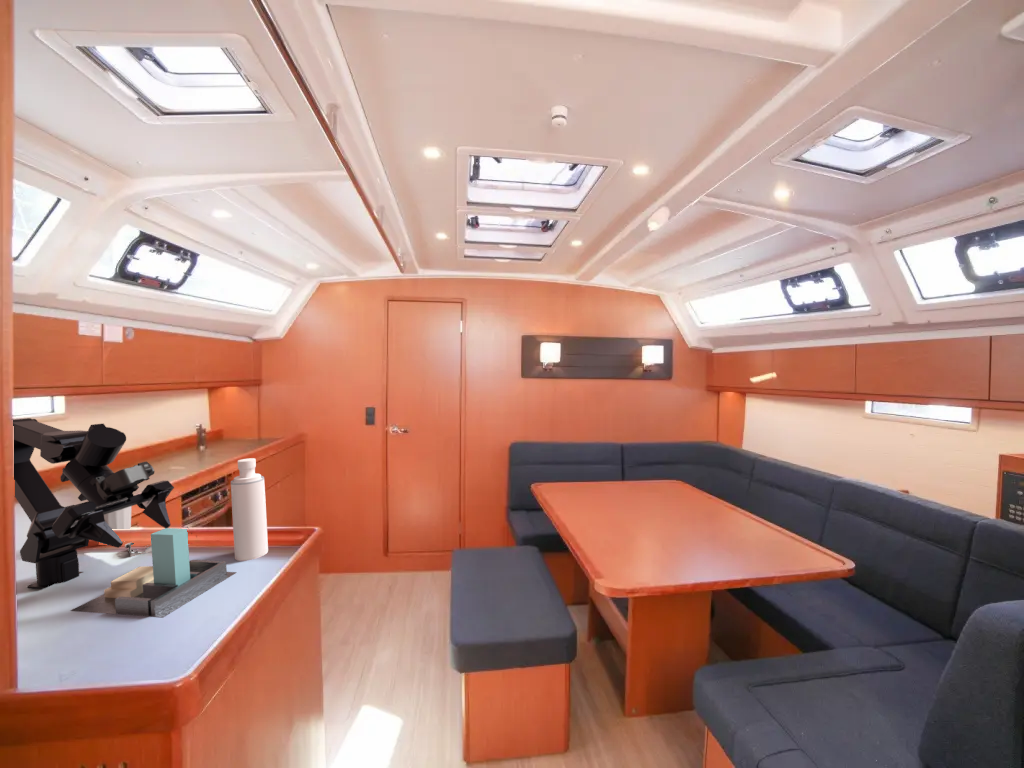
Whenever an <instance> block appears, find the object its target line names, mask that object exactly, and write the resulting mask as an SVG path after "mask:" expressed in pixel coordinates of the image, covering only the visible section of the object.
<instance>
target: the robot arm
mask: <svg viewBox="0 0 1024 768" xmlns="http://www.w3.org/2000/svg"><path fill="white" fill-rule="evenodd" d="M12 420H13V426H14V480H15V496H14V498H15V500H16V501H17V502H18V504H19V506H20V507H21V508H22V509H23V511H24V513H25V514H26V516H27V517H28V519H29V521H30V526H29V528H28V531H27V533H26V540H25V542H24V543H23V545H22V547H21V549H20V550H19V554H20V557H21V560H22V561H23V562H27V563H29V564H30V563H31V564H35V573H36V582H33V583H31V584H29V585H27V589H36V590H45V589H46V588H49V587H52V586H54V585H57V584H61V583H66V582H68V581H71V580H74V579H75V578H78V577H80V574H82V573H84V571H80V564H79V558H78V550H79V549H82V548H86V547H89V544H90V543H89V542H90V541H92V542H93V541H94V542H97V543H98V542H100V543H103V544H107V546H111V547H115V548H116V549H117V548H120V547H122V545H123V542H122V541H121V539H120V538H119V536H118V535H117V534H116V533H115V532H114V531H113V530H112V528H111V527H110V526H109V525H108V524H107V523H106V522H105V519H104V514H107V513H111V512H114V511H117V510H121V509H124V508H127V507H130V506H132V507H133V506H136V505H137V507H138V508H139V509H142V510H143V511H142V513H143V514H144V516H146V517H148V518H149V519H151V520H152V521H154V522H155V523H156V524H157V525H159V526H161V527H162V528H163V529H165V528H170V526H171V521H170V518H169V517H170V516H169V513H168V510H167V506H166V505H167V503H166V499H167V498H168V497H169V495H170V494H171V492H172V491H174V489H175V486H174V485H172V483H171V482H170V481H169V480H160V481H156V482H153V483H149V484H147V485H146V487H144V489H143V490H142V491H141V493H138V494H135V495H134V492H137V490H138V489H139V488H140V487H139V484H142V482H145V481H148V480H150V477H151V476H153V475H154V474H155V469H154V467H153V465H152V464H150V463H149V462H148V461H142V462H139V463H137V464H135V465H133V466H132V467H127V468H123V469H120V470H118V471H116V472H114V471H113V470H112V469H111V468H110V467H109V465H110V464H112V463H113V462H114V461H115V460H116V457H117V456H118V455H119V454H120V452H121V450H122V448H123V447H124V445H125V443H126V441H127V436H126V433H124V432H123V431H121V430H119V429H116V428H113V427H111V426H106V424H105V423H95V424H90V426H89V428H88V430H62V429H60V428H57V427H54V426H51V425H48V424H45V423H42V422H39V421H38V420H37V419H36V418H31V417H27V418H25V417H24V418H16V419H15V418H12ZM35 449H37V450H40V455H39V457H41V458H42V459H44V460H45V461H46V462H48V463H50V464H54V465H55V464H60V463H65V462H66V465H65V466H64V467H63V468H62V473H61V475H60V477H59V479H60V482H61V483H64V482H68V481H69V482H71V484H72V485H73V486H74V487H75V488H76V490H78V491H79V492H80V495H79V496H78V497H77V499H78V500H79V501H80V503H78V504H71V505H67V506H62V505H61V503H60V502H59V500H58V499H57V497H56V495H54V493H53V491H52V490H51V489H50V487H49V486H48V484H47V483H46V482H45V480H44V479H43V478H42V476H41V474H40V473H39V471H38V470H37V468H36V467H35V466H34V464H33V462H32V461H31V459H32V456H33V454H34V450H35Z"/></svg>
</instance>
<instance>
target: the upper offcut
mask: <svg viewBox="0 0 1024 768" xmlns="http://www.w3.org/2000/svg"><path fill="white" fill-rule="evenodd" d="M152 579H154V577H153V565H149V566H148V565H147V566H145V565H143V566H137V567H135V568H134V569H132V570H130V571H128V572H126V573H125V574H123V575H120V576H119V577H117V578H115V579H113V580H111V581H110V587H111V589H136V588H138V587H140V586H142V585H143V584H145V583H147V582H149V581H150V580H152Z"/></svg>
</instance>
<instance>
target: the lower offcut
mask: <svg viewBox="0 0 1024 768" xmlns="http://www.w3.org/2000/svg"><path fill="white" fill-rule="evenodd" d="M147 583H154V579H152V580H150V581H149V582H147ZM103 591H104V593H103V594H105V597H107V598H118V597H136V596H138V595H139V594H141V593H143V585H142V586H140V587H138V588H136V589H111V586H109V587H107V588H105V589H104V590H103Z"/></svg>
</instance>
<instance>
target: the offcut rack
mask: <svg viewBox="0 0 1024 768" xmlns="http://www.w3.org/2000/svg"><path fill="white" fill-rule="evenodd" d="M189 565H190V580H188V581H186V582H185V583H183V584H181V585H179V586H178V585H176V584H159V583H145V584H143V593H141V594H139V595H138V596H136V597H118V598H107V597H105V594H104V593H103V594H102V595H100V596H97V597H95V598H93V599H91V600H89V601H87V602H85V603H82V604H80V605H79V606H76V607H75V608H73V609H70V610H69V611H70V612H79V613H80V612H83V613H92V614H93V613H95V614H97V613H98V614H109V615H124V616H137V617H150V618H151V617H152V618H165V617H167V616H168V615H170V614H171V613H173V612H175V611H176V610H178V609H180V608H181V607H183V606H184V605H186V604H188V603H189V602H191V601H193V600H194V599H196V598H198V597H199V596H202V595H203V594H204V593H206V592H208V591H209V590H211V589H213V588H214V587H215V586H217V585H219V584H220V583H222V582H224V581H225V580H227V579H229V578H230V577H232V576H233V575H236V574H238V573H237V571H228V570H227V561H226V560H223V561H221V560H207V559H205V560H204V559H191V560H189Z"/></svg>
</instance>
